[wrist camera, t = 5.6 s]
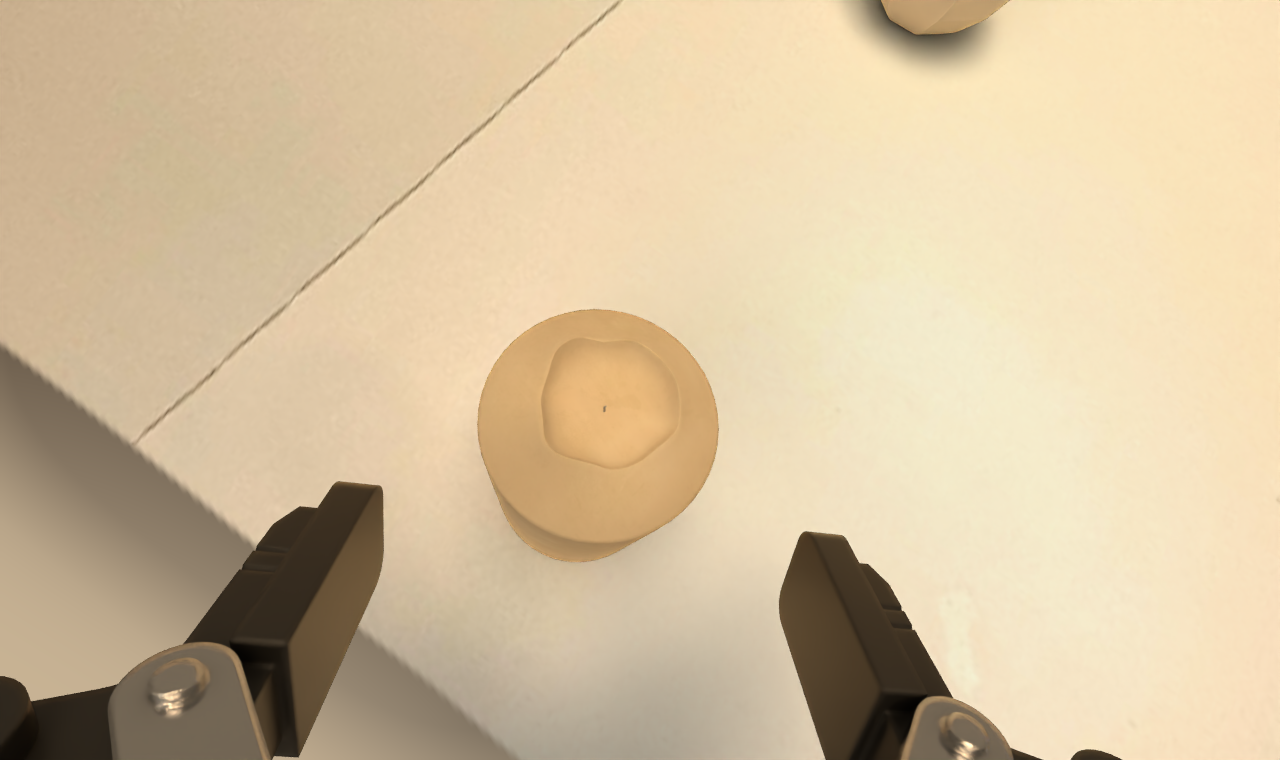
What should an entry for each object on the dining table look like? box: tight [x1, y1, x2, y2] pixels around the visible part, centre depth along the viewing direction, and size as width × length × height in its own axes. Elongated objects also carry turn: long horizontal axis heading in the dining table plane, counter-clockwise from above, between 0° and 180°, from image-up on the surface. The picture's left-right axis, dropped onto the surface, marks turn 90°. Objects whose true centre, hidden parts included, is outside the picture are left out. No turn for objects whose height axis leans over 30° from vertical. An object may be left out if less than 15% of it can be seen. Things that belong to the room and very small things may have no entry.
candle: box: [477, 309, 719, 562], centre depth 17 cm, size 6×6×10 cm
